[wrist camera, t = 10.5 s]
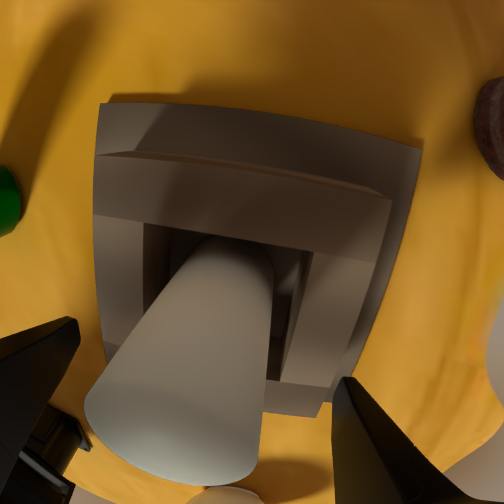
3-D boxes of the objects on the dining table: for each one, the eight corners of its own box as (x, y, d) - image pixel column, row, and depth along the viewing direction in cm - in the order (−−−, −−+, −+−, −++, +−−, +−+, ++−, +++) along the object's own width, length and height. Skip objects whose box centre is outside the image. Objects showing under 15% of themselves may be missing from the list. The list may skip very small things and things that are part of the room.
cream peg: (266, 320, 16) (244, 495, 7) (185, 305, 16) (102, 457, 7) (281, 242, 14) (275, 411, 5) (190, 227, 15) (66, 356, 5)
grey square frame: (336, 396, 18) (342, 443, 15) (109, 350, 19) (81, 388, 15) (417, 149, 13) (459, 154, 9) (106, 104, 13) (57, 99, 10)
